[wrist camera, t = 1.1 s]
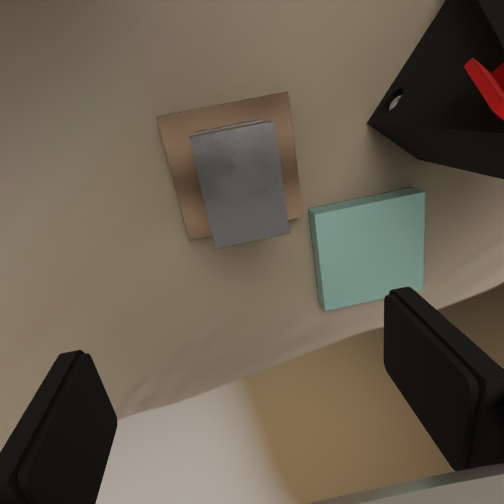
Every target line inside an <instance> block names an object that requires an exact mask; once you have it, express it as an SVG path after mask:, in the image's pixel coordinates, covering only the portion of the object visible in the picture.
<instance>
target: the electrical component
mask: <svg viewBox="0 0 504 504" xmlns="http://www.w3.org/2000/svg"><path fill="white" fill-rule="evenodd" d="M367 124H369V125H370V126H371V127H373V128H374V129H376V130H377V131H379V132H380V133H381V134H383V135H384V136H386V137H387V138H389V139H390V140H391V141H393V142H394V143H396V144H397V145H399V146H400V147H401V148H403V149H404V150H406V151H407V152H408V153H410V154H411V155H413V156H414V157H416V158H417V159H419V160H423V161H427V162H432V163H436V164H440V165H445V166H449V167H453V168H458V169H462V170H466V171H471V172H475V173H479V174H484V175H488V176H492V177H497V178H501V179H504V0H446V1H445V3H444V4H443V6H442V7H441V9H440V11H439V12H438V14H437V15H436V17H435V18H434V20H433V21H432V23H431V24H430V26H429V28H428V29H427V31H426V32H425V34H424V35H423V37H422V38H421V40H420V42H419V43H418V45H417V46H416V48H415V49H414V51H413V52H412V54H411V56H410V57H409V59H408V60H407V62H406V63H405V65H404V66H403V68H402V70H401V71H400V73H399V74H398V76H397V77H396V79H395V80H394V82H393V84H392V85H391V87H390V88H389V90H388V91H387V93H386V94H385V96H384V97H383V99H382V101H381V102H380V104H379V105H378V107H377V108H376V110H375V111H374V113H373V115H372V116H371V118H370V119H369V121H368V122H367Z"/></svg>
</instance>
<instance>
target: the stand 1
mask: <svg viewBox="0 0 504 504" xmlns="http://www.w3.org/2000/svg"><path fill="white" fill-rule="evenodd" d="M156 118H157V121H158V125H159V129H160V132H161V136H162V140H163V144H164V147H165V151H166V155H167V158H168V162H169V166H170V170H171V173H172V177H173V181H174V184H175V188H176V192H177V196H178V199H179V203H180V207H181V211H182V214H183V218H184V222H185V225H186V229H187V233H188V237H189V240H195V239H199V238H204V237H209V236H212V232H211V228H210V223H209V219H208V215H207V211H206V207H205V203H204V198H203V194H202V190H201V186H200V182H199V177H198V173H197V169H196V165H195V161H194V157H193V152H192V148H191V144H190V140H189V137H190V136H191V135H193V133H194V131H199V130H204V129H210V128H215V127H220V126H225V125H230V124H235V123H240V122H245V121H250V120H255V119H263V121H268V120H269V121H274V123H275V130H276V137H277V144H278V151H279V158H280V165H281V172H282V179H283V186H284V193H285V200H286V207H287V215H288V220H291V219H296V218H301V217H303V210H302V202H301V194H300V186H299V178H298V170H297V162H296V154H295V146H294V138H293V130H292V121H291V113H290V105H289V97H288V92H282V93H277V94H272V95H267V96H262V97H257V98H251V99H246V100H241V101H236V102H231V103H226V104H220V105H215V106H210V107H205V108H200V109H194V110H189V111H184V112H179V113H174V114H169V115H163V116H158V117H156Z"/></svg>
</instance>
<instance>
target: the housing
mask: <svg viewBox="0 0 504 504" xmlns="http://www.w3.org/2000/svg"><path fill="white" fill-rule="evenodd" d="M189 140H190V144H191V148H192V152H193V157H194V161H195V165H196V169H197V173H198V177H199V182H200V186H201V190H202V194H203V198H204V203H205V207H206V211H207V215H208V219H209V223H210V228H211V232H212V236H213V240H214V244H215V249H217V248H222V247H226V246H231V245H236V244H241V243H246V242H251V241H255V240H260V239H265V238H270V237H275V236H279V235H284V234H289V233H290V229H289V222H288V215H287V207H286V200H285V193H284V186H283V179H282V172H281V165H280V158H279V151H278V144H277V137H276V130H275V123H274V121H269V120H268V121H263V119H255V120H250V121H245V122H240V123H235V124H230V125H225V126H220V127H215V128H210V129H204V130H199V131H194V133H193V135H191V136H190V137H189Z"/></svg>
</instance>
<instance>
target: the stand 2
mask: <svg viewBox="0 0 504 504" xmlns="http://www.w3.org/2000/svg"><path fill="white" fill-rule="evenodd" d="M309 218H310V226H311V235H312V243H313V252H314V261H315V269H316V278H317V286H318V295H319V301H320V303H321V305H322V307H323V308H324V310H325V311H328V310H333V309H337V308H342V307H346V306H351V305H356V304H360V303H365V302H370V301H374V300H379V299H383V298H385V296H386V295H389V292H390V290H392V289H397V288H403V287H411V288H412V289H413V290H414V291H420V290H423V272H424V230H425V191H422V190H419V189H417V188H414V187H411V188H406V189H402V190H397V191H392V192H387V193H382V194H377V195H372V196H368V197H363V198H358V199H353V200H348V201H343V202H338V203H334V204H329V205H324V206H319V207H314V208H309Z"/></svg>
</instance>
